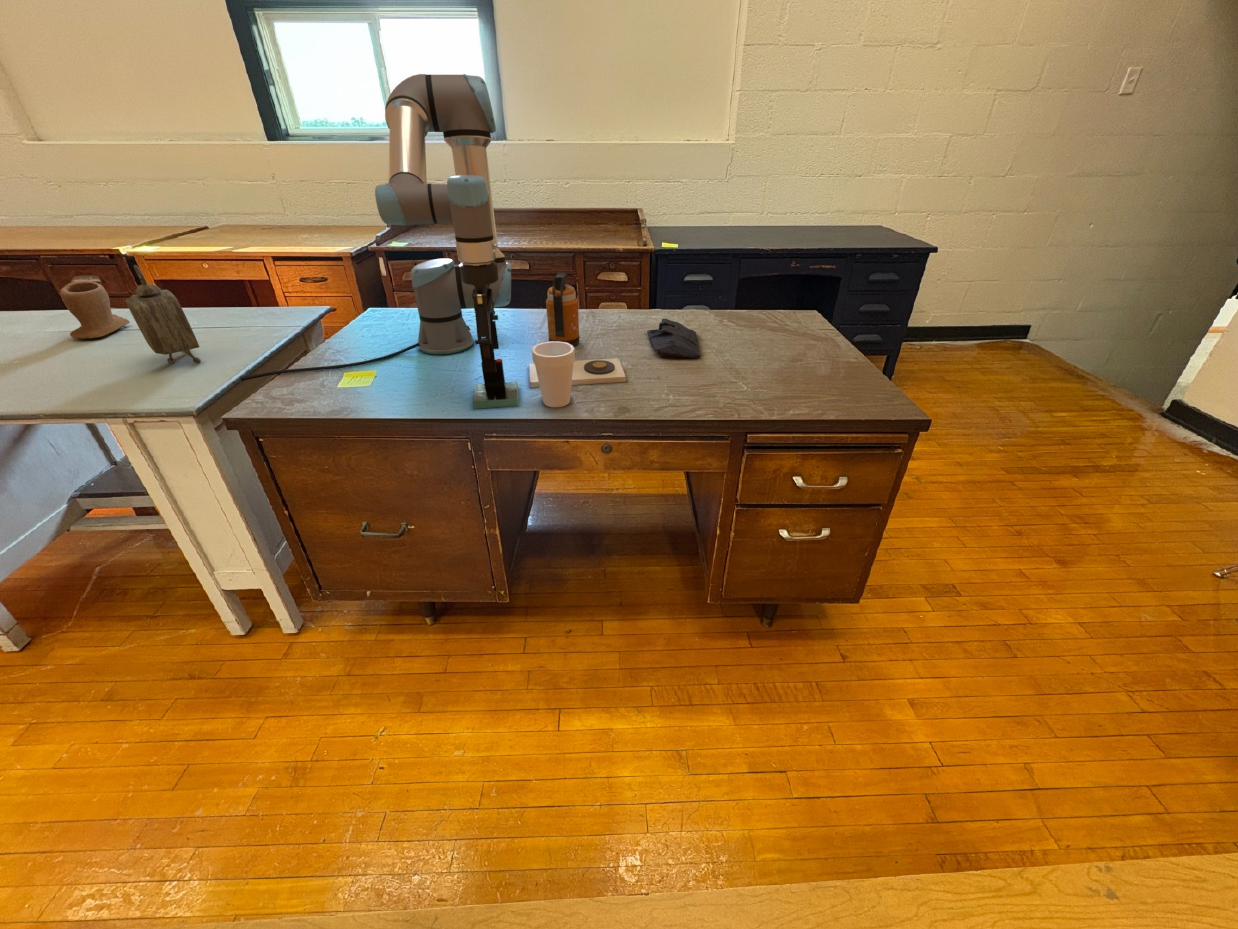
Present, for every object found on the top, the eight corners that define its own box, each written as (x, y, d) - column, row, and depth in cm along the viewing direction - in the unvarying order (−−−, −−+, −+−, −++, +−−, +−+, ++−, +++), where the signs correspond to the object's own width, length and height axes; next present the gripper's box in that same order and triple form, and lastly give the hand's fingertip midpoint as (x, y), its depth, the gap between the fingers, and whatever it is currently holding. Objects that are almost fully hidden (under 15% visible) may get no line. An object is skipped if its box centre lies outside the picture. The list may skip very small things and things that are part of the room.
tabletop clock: (208, 363, 140) (162, 267, 126) (167, 373, 135) (115, 274, 121) (193, 349, 149) (149, 257, 135) (154, 358, 143) (104, 263, 129)
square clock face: (474, 409, 120) (472, 400, 119) (477, 391, 127) (475, 383, 126) (518, 406, 121) (517, 397, 120) (518, 389, 128) (517, 381, 127)
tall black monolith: (485, 393, 122) (481, 362, 118) (486, 390, 123) (481, 359, 119) (505, 392, 123) (501, 361, 118) (505, 388, 124) (502, 358, 120)
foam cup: (544, 413, 118) (540, 359, 111) (531, 397, 125) (525, 345, 118) (582, 404, 122) (580, 352, 114) (567, 389, 129) (564, 338, 121)
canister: (581, 338, 158) (579, 270, 146) (575, 352, 149) (572, 280, 137) (552, 337, 158) (547, 269, 147) (544, 350, 149) (539, 279, 138)
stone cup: (107, 341, 153) (77, 290, 145) (66, 341, 153) (34, 289, 145) (145, 324, 166) (120, 275, 157) (107, 324, 166) (80, 275, 157)
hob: (530, 387, 129) (529, 378, 128) (530, 368, 139) (529, 359, 138) (625, 381, 132) (625, 372, 131) (618, 363, 142) (618, 354, 141)
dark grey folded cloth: (647, 359, 145) (648, 342, 142) (647, 331, 163) (647, 316, 160) (702, 360, 144) (704, 343, 142) (696, 332, 162) (697, 317, 160)
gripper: (493, 276, 97) (506, 381, 109) (498, 248, 117) (509, 339, 129) (452, 277, 96) (470, 383, 108) (464, 249, 116) (478, 341, 128)
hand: (491, 359), depth 118 cm, fingers open, 13 cm apart
